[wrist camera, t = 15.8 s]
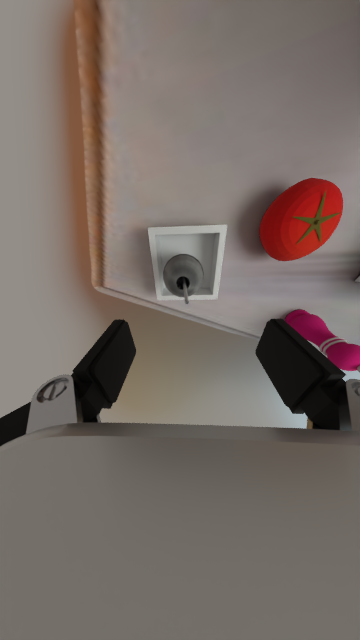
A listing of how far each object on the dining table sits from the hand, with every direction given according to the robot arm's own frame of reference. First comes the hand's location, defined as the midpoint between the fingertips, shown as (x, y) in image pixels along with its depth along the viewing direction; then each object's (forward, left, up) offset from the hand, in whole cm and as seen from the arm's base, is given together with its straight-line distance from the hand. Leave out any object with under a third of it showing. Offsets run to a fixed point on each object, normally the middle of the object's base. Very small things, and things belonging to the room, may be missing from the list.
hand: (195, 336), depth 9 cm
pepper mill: (+17, +34, -29) cm, 48 cm away
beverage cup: (0, -1, -28) cm, 28 cm away
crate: (0, 0, -29) cm, 29 cm away
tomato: (-7, +20, -29) cm, 36 cm away
